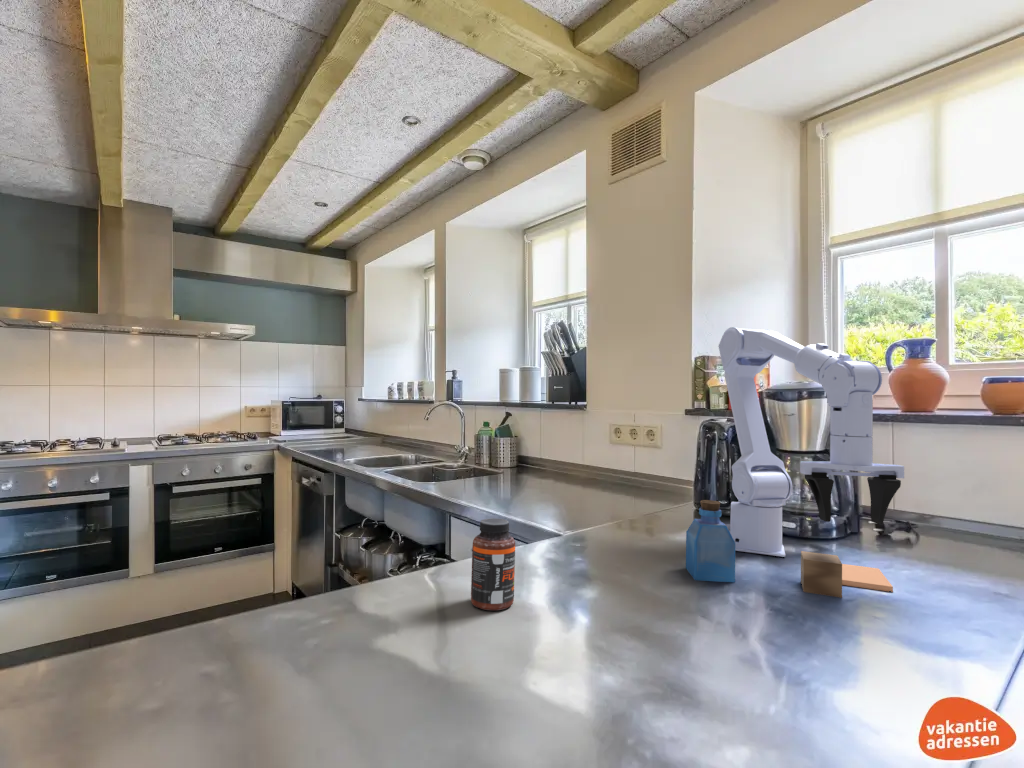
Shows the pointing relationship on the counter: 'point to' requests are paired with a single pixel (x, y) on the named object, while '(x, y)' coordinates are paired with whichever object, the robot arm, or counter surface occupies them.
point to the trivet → (865, 578)
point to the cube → (821, 574)
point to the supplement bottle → (493, 566)
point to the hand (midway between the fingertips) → (850, 521)
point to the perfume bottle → (710, 546)
